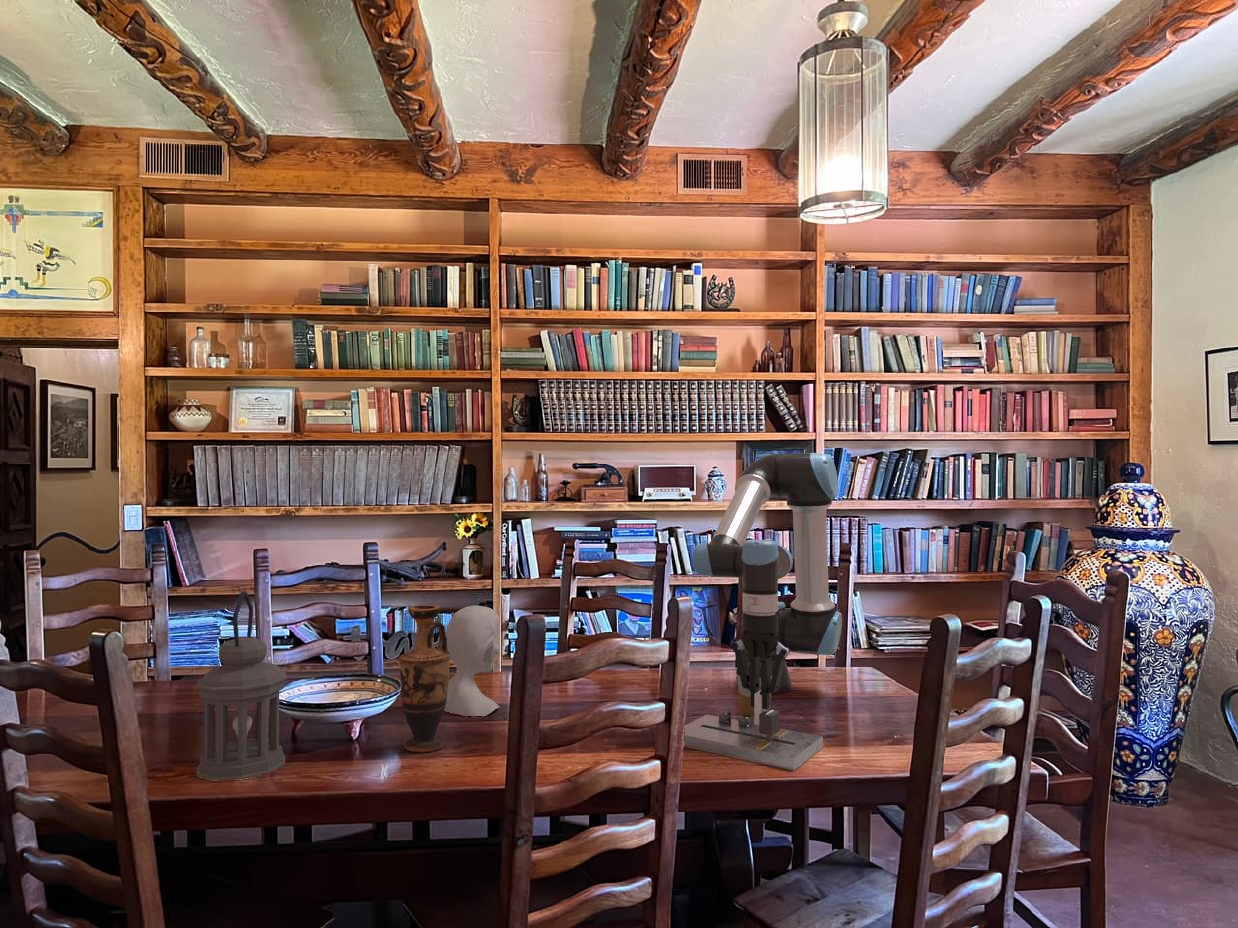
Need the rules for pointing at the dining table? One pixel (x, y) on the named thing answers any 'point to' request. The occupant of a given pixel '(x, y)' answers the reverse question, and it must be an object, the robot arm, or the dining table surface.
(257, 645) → the lantern
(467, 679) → the head bust
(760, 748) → the console
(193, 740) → the dining table surface
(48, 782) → the dining table surface
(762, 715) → the fader
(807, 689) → the dining table surface
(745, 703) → the coffee cup
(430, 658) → the vase
